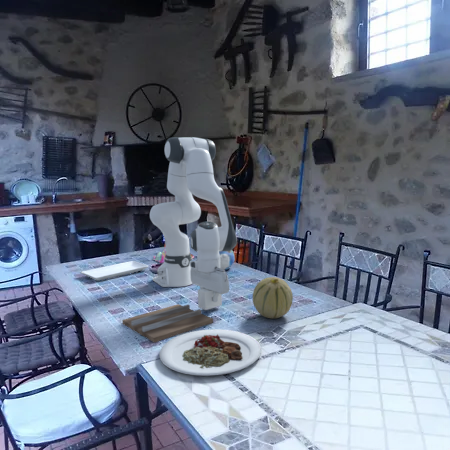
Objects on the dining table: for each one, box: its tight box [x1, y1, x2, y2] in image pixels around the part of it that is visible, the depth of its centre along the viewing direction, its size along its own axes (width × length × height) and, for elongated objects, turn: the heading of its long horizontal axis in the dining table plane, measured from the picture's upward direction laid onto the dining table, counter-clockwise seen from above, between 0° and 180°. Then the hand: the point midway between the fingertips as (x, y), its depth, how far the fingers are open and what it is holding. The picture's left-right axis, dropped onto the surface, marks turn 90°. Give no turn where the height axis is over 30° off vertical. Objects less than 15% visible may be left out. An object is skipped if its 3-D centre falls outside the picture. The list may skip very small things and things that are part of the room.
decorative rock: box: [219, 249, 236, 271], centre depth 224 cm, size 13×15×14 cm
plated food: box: [158, 328, 262, 376], centre depth 125 cm, size 30×30×3 cm
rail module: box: [197, 288, 223, 311], centre depth 163 cm, size 4×9×7 cm, turn 130°
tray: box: [80, 260, 150, 282], centre depth 221 cm, size 17×32×4 cm, turn 134°
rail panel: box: [121, 303, 214, 343], centre depth 150 cm, size 22×24×3 cm
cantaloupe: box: [252, 276, 294, 319], centre depth 152 cm, size 15×15×15 cm
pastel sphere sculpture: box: [152, 243, 195, 264], centre depth 251 cm, size 25×24×9 cm
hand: (209, 299), depth 163 cm, fingers closed on rail module, 4 cm apart
